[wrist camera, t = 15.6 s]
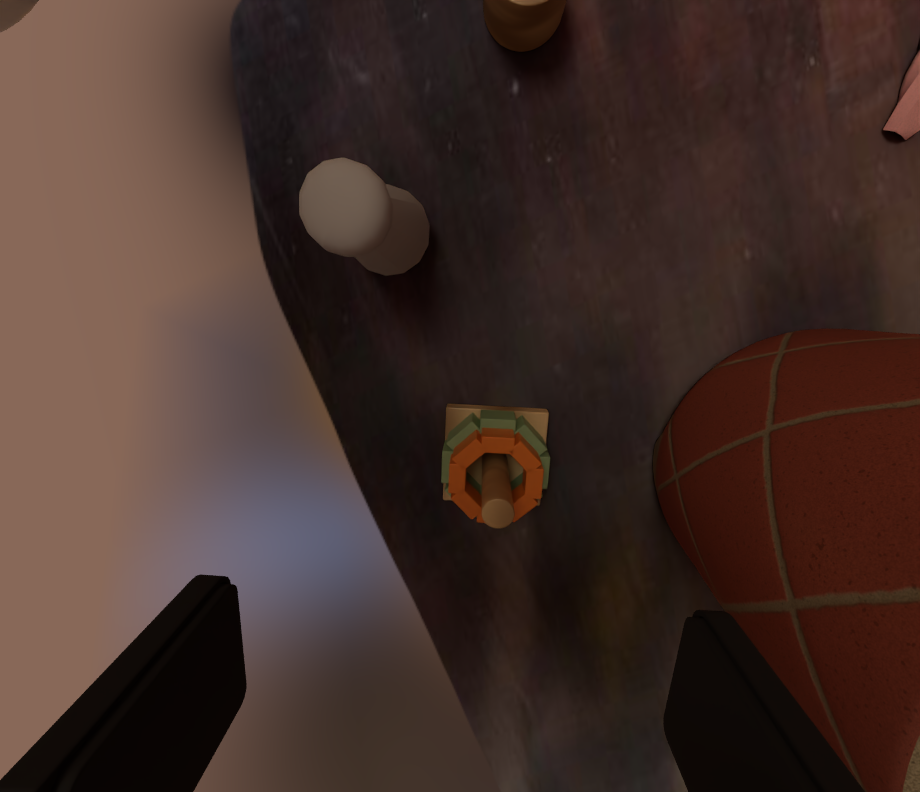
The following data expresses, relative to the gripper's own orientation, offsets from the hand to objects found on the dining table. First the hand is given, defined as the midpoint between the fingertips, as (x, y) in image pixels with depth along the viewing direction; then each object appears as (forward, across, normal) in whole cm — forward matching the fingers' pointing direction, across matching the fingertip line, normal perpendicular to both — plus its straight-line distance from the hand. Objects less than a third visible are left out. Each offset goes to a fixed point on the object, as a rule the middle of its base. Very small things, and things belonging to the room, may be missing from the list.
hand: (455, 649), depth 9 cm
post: (+26, -2, +6) cm, 27 cm away
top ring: (+23, -2, +6) cm, 24 cm away
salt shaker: (+27, +6, -10) cm, 29 cm away
